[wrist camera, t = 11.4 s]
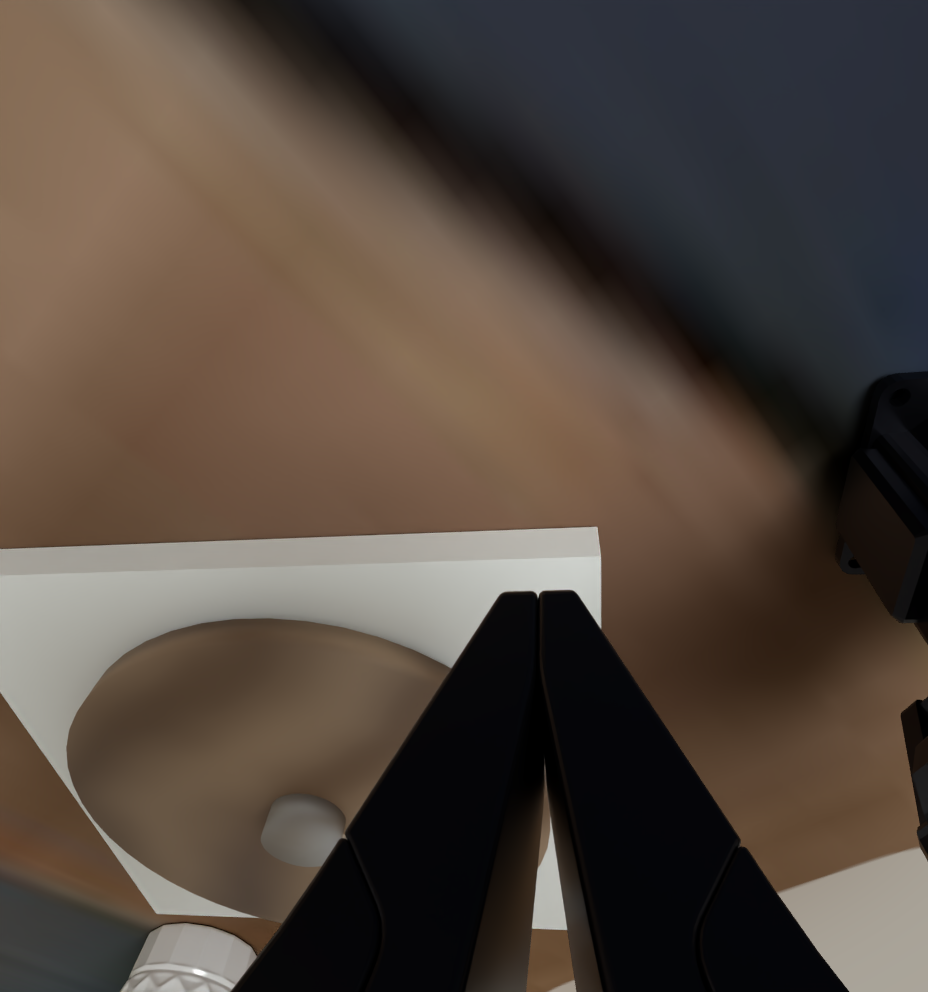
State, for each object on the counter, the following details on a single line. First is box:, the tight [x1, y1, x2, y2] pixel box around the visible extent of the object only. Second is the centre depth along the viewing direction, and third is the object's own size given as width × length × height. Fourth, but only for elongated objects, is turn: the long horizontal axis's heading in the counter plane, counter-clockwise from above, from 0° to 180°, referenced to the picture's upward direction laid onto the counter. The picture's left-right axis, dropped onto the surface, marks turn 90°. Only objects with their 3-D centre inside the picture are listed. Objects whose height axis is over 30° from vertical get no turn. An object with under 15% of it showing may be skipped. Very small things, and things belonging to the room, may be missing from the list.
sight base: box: [0, 527, 601, 930], centre depth 28 cm, size 23×23×4 cm
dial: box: [66, 618, 550, 923], centre depth 23 cm, size 19×19×11 cm
